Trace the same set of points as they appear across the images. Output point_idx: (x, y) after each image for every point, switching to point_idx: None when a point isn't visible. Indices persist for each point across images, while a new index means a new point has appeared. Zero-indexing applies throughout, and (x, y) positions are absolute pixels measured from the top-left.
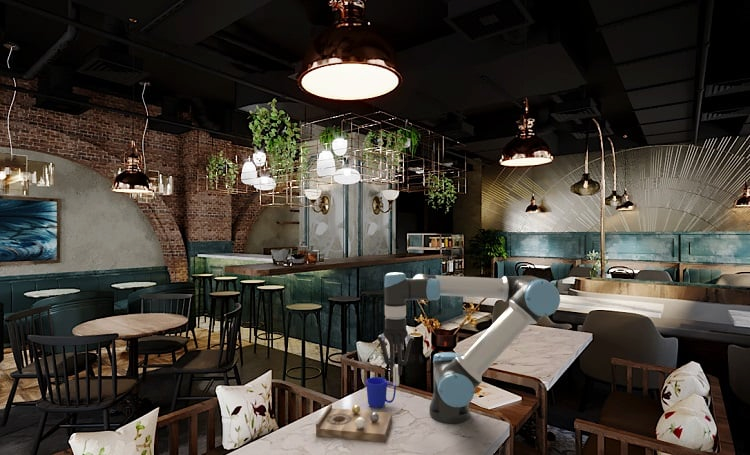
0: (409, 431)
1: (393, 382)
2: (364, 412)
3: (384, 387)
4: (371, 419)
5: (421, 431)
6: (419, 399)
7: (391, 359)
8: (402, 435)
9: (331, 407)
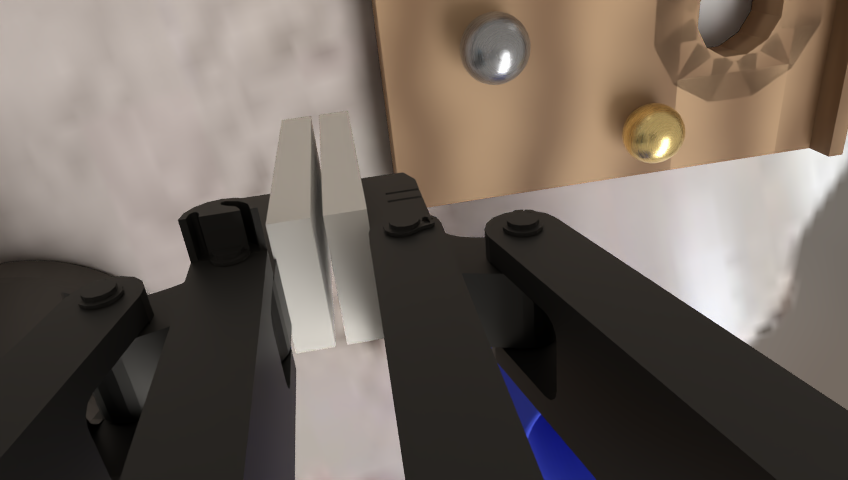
0: (231, 75)
1: (346, 120)
2: (587, 159)
3: (517, 403)
4: (509, 14)
5: (150, 100)
6: (307, 474)
7: (422, 282)
8: (259, 3)
9: (819, 139)
